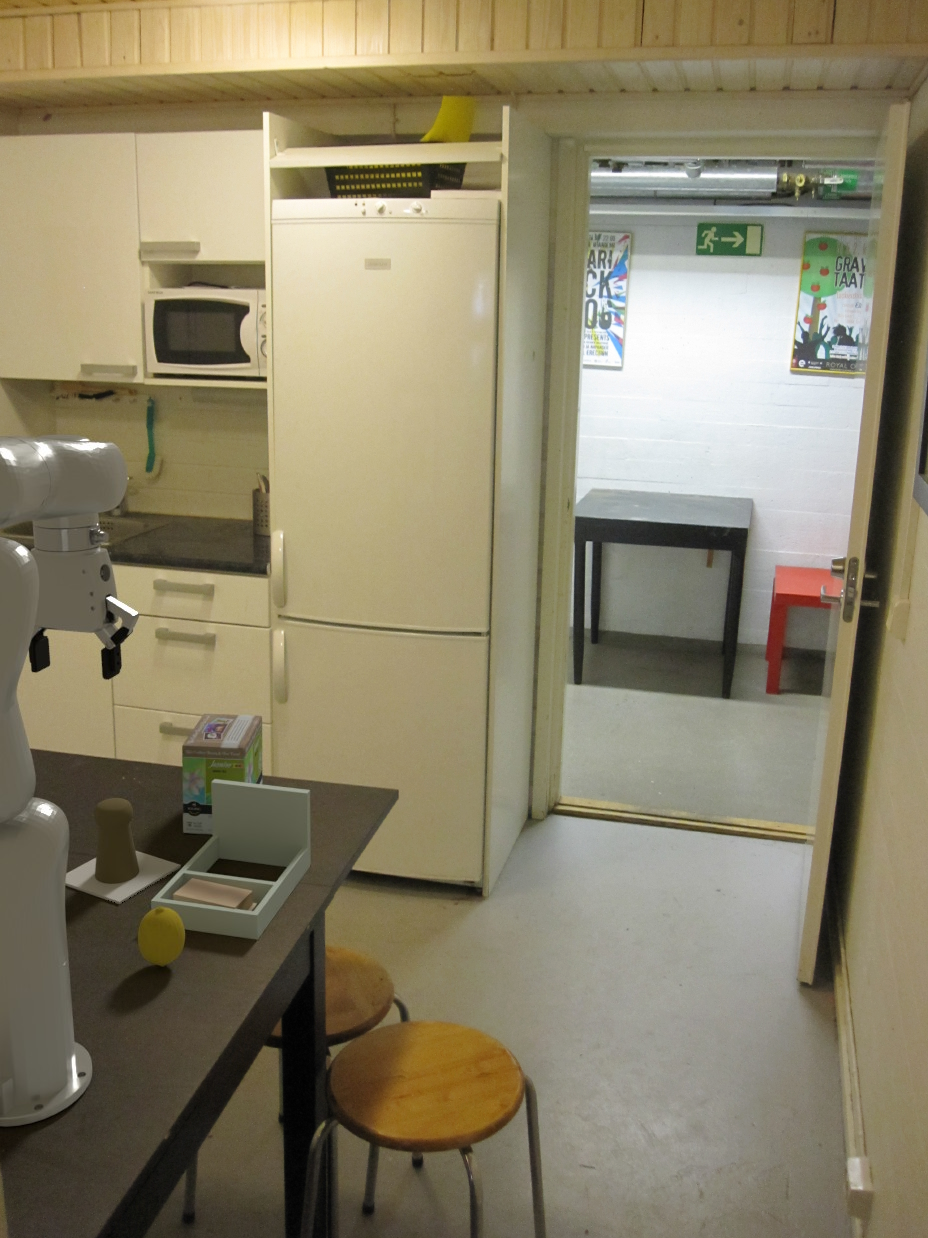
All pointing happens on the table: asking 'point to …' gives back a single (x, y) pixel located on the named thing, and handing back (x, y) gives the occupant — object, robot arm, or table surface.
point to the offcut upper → (214, 895)
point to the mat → (118, 893)
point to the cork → (115, 842)
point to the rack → (246, 855)
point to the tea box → (218, 763)
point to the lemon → (161, 936)
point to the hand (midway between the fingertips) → (76, 672)
